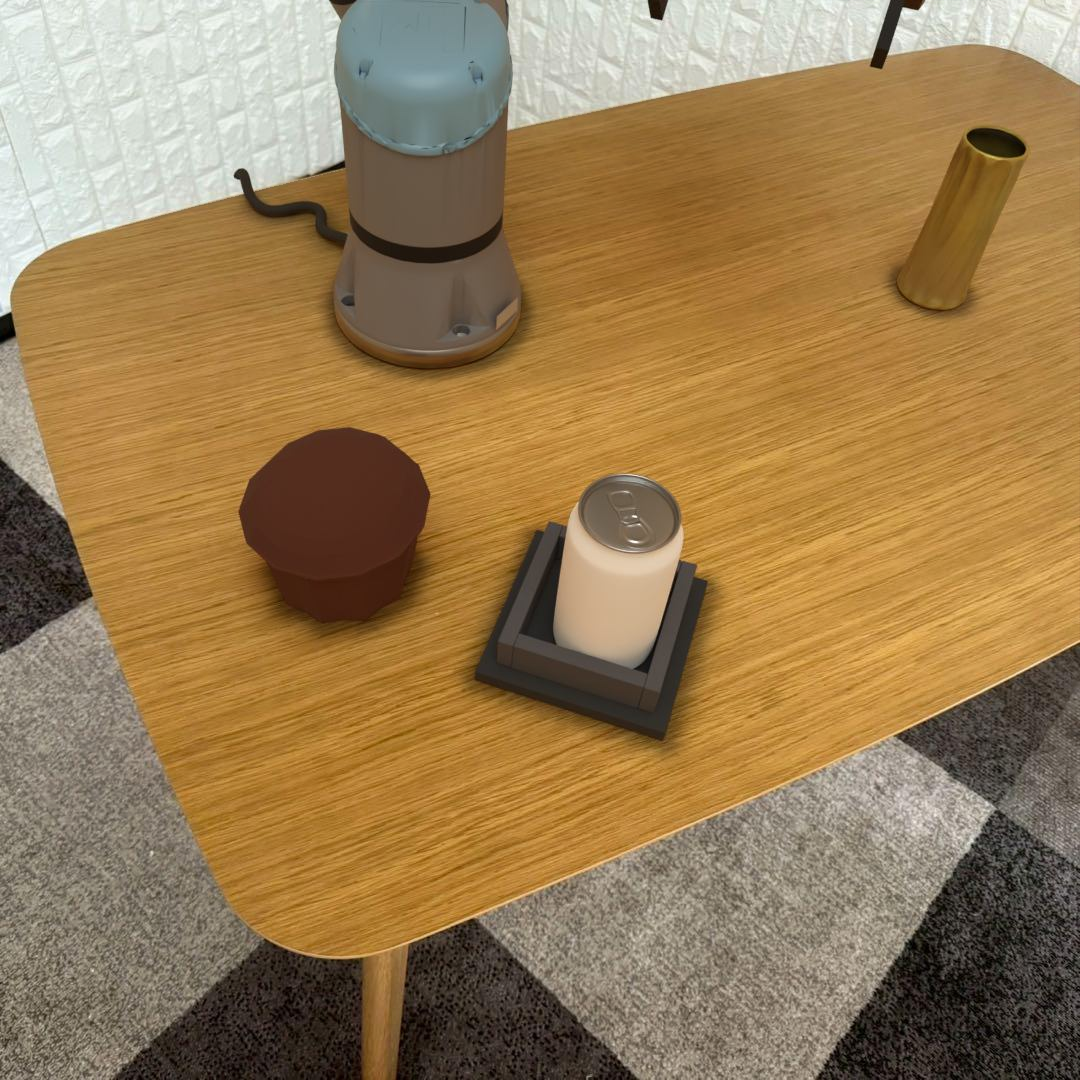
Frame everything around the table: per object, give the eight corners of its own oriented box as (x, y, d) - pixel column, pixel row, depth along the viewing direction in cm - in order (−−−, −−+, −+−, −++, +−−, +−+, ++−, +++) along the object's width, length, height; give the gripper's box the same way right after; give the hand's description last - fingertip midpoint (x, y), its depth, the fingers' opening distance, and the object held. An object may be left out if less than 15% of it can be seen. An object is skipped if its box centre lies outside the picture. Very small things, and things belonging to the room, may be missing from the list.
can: (568, 688, 61) (590, 568, 52) (540, 602, 65) (556, 476, 56) (668, 668, 63) (707, 547, 53) (635, 585, 67) (666, 459, 57)
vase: (883, 273, 92) (943, 124, 81) (941, 264, 93) (1008, 117, 82) (918, 315, 88) (985, 166, 77) (977, 306, 90) (1052, 158, 79)
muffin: (360, 671, 62) (348, 573, 54) (218, 593, 65) (187, 490, 57) (463, 543, 69) (465, 440, 61) (330, 477, 72) (316, 371, 64)
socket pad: (474, 680, 62) (475, 649, 60) (535, 538, 70) (539, 505, 67) (662, 741, 61) (673, 712, 58) (705, 589, 68) (716, 557, 65)
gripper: (1080, -261, 60) (962, 103, 62) (670, -329, 63) (575, 16, 66) (1130, -364, 52) (993, 54, 55) (662, -434, 56) (555, -40, 59)
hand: (764, 34), depth 60 cm, fingers open, 13 cm apart
